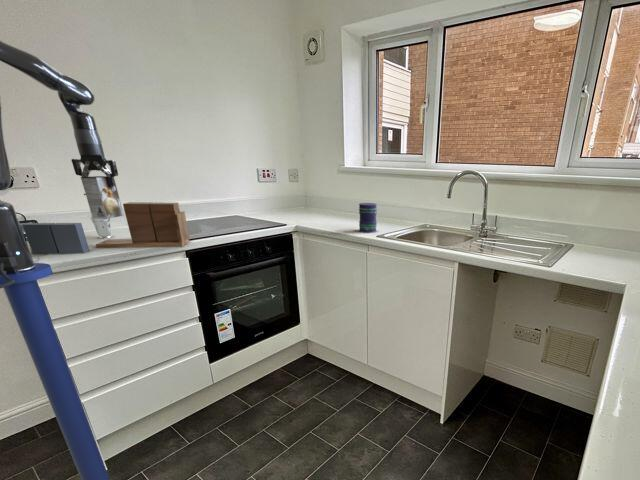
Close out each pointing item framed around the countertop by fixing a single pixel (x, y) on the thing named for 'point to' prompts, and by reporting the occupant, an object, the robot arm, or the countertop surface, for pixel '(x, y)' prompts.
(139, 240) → the box
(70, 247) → the grey book
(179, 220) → the wooden rack
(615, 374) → the countertop surface
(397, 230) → the countertop surface
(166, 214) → the box
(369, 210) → the storage jar
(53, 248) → the grey book
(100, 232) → the cup with straw
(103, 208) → the coffee box
